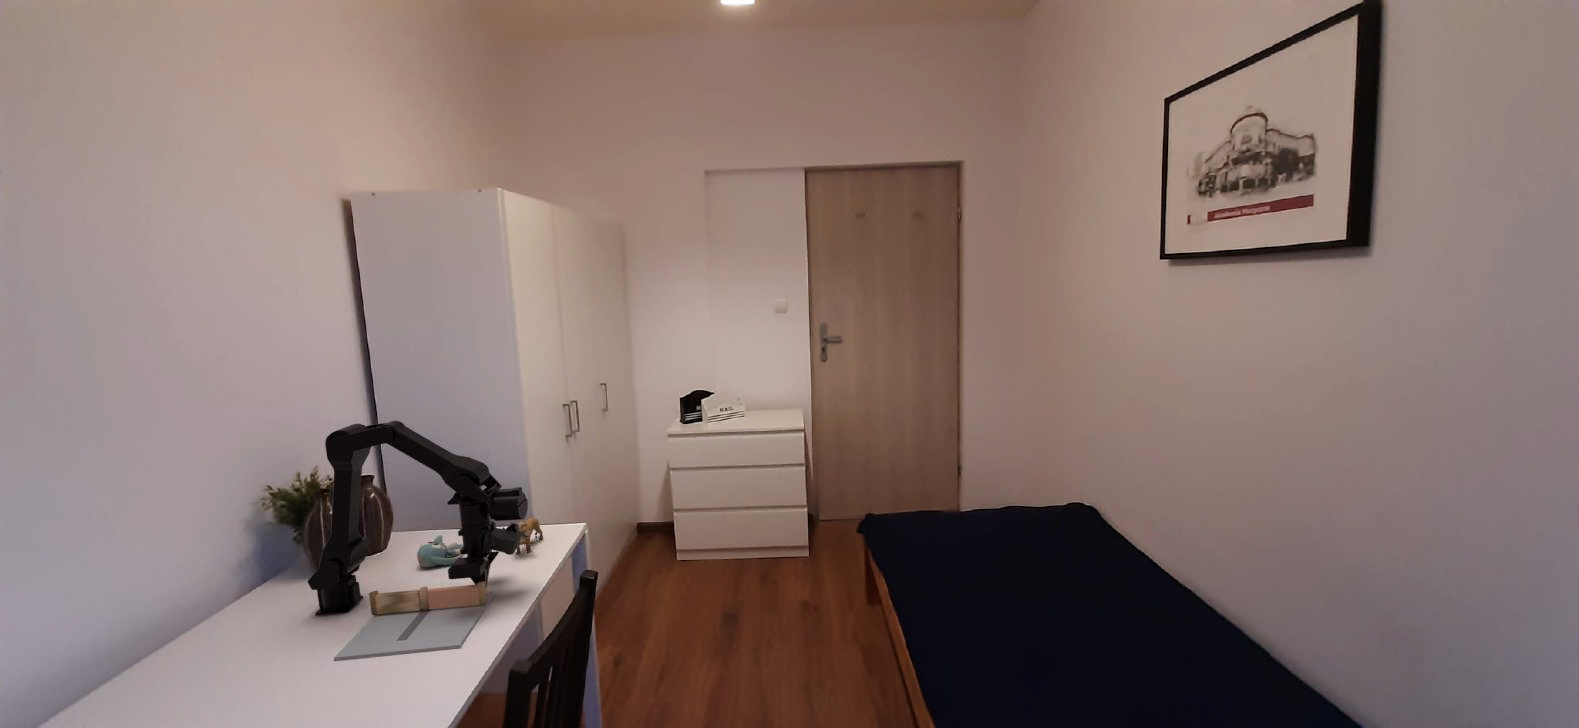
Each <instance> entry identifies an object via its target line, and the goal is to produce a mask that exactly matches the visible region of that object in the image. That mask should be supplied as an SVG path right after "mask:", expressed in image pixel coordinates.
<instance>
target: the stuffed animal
mask: <svg viewBox="0 0 1579 728" xmlns="http://www.w3.org/2000/svg"><path fill="white" fill-rule="evenodd" d="M445 544H446V542H443V535H437V537H435V538H434V540H433V541H427V542H426V543H422V544H420V547H419V549H418V550H417V553H416V557H417V558H416V559H417V563H418V564H419V565H420V566H421V567H423V568H433V567H436V566H438V565H444V566H447V567H448V566H452V564H453V563H454V562H455V561H456V560H457V559H458V558H464V554H460V550H461V548H462V547H463V543H460V544H458V543H457V542H451V543H450V544H446V545H445ZM455 555H456V556H455ZM447 556H448V557H449V556H454V557H451V558H450V557H449V558H448V557H447Z"/></svg>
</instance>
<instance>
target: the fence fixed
mask: <svg viewBox="0 0 1579 728" xmlns="http://www.w3.org/2000/svg"><path fill="white" fill-rule="evenodd" d="M368 597H369V599H368V600H369V604H370V605H369V606H370V611H371V616H374V615H377V614H386V613H397V612H408V611H419V610H420V609H421V608H422V602H421V592H420V589H415V590H414V589H411V590H401V591H390V592H389V591H388V592H380V593H379V591H378V590H373V591H370V592H369V593H368Z"/></svg>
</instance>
